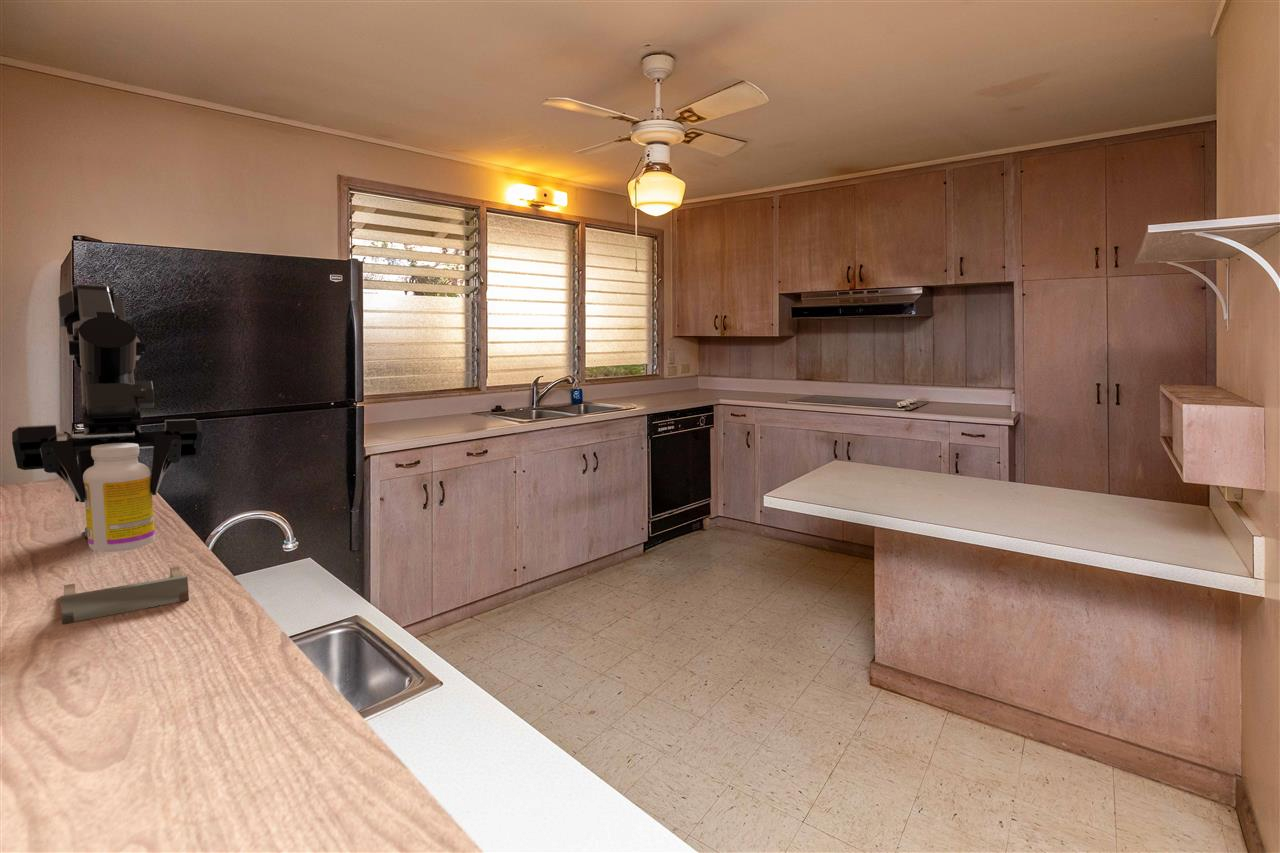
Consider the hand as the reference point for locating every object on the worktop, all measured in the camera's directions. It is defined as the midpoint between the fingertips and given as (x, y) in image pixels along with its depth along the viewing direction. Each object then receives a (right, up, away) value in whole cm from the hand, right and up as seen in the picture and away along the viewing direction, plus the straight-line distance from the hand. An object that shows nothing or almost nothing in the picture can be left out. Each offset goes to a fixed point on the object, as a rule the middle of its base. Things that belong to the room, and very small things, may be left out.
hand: (119, 496), depth 81 cm
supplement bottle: (-1, -7, +2) cm, 7 cm away
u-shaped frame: (-1, -13, +2) cm, 13 cm away
